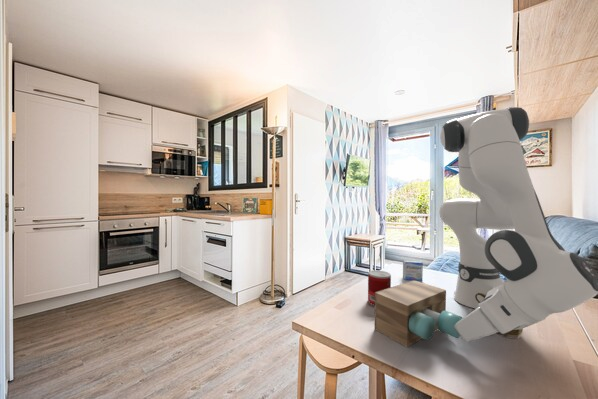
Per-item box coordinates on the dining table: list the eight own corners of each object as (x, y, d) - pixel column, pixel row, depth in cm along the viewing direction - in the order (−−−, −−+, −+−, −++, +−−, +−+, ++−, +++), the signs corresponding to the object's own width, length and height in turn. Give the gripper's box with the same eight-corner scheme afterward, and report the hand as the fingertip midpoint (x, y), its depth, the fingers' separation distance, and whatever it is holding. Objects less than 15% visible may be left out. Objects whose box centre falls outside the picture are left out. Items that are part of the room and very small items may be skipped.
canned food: (391, 308, 89) (392, 277, 89) (368, 306, 91) (369, 275, 90) (388, 299, 96) (389, 271, 96) (367, 297, 98) (367, 269, 98)
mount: (413, 311, 86) (413, 280, 86) (460, 331, 74) (461, 294, 74) (374, 328, 75) (375, 292, 75) (422, 355, 63) (423, 312, 63)
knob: (415, 313, 78) (415, 296, 78) (463, 334, 67) (464, 314, 66) (404, 318, 75) (404, 300, 75) (453, 341, 63) (453, 319, 63)
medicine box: (404, 280, 118) (405, 262, 118) (402, 277, 123) (402, 259, 123) (422, 281, 117) (423, 262, 117) (419, 278, 122) (420, 260, 121)
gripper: (514, 284, 64) (470, 307, 72) (480, 303, 52) (432, 328, 61) (537, 308, 60) (488, 329, 68) (506, 334, 49) (451, 356, 57)
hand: (461, 329), depth 64 cm, fingers closed, pressing on knob
